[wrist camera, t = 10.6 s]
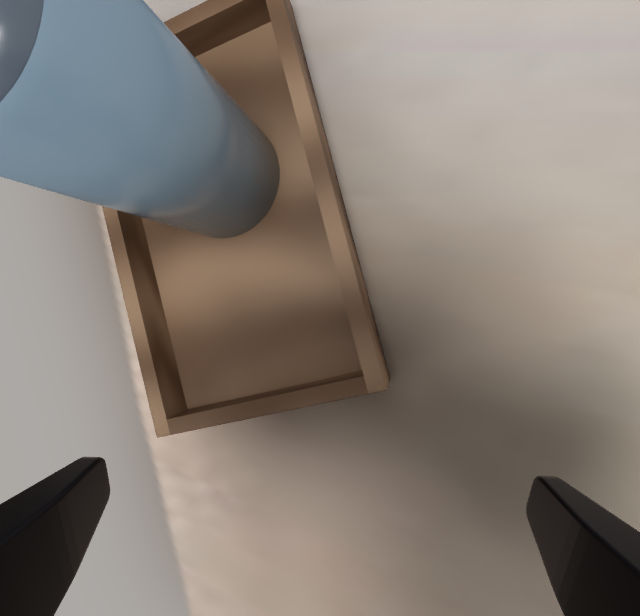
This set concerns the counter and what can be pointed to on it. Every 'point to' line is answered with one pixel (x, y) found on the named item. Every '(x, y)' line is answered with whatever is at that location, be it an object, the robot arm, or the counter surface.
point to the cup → (127, 118)
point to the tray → (252, 255)
